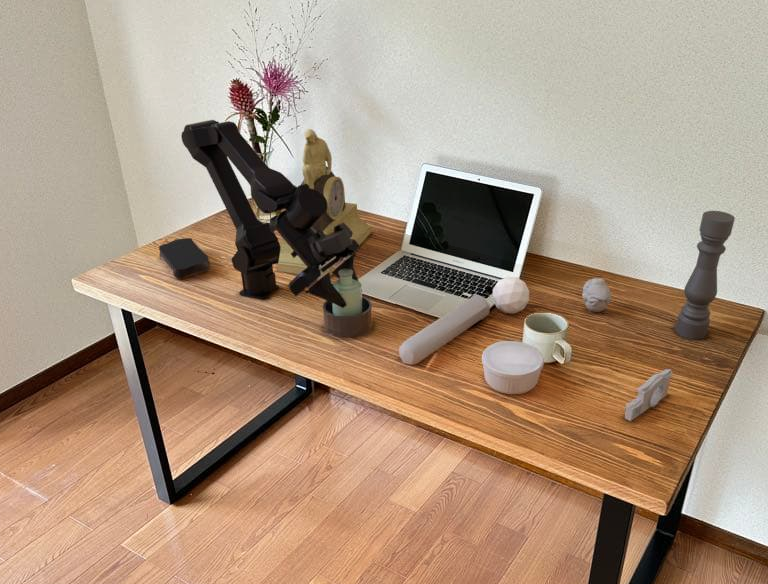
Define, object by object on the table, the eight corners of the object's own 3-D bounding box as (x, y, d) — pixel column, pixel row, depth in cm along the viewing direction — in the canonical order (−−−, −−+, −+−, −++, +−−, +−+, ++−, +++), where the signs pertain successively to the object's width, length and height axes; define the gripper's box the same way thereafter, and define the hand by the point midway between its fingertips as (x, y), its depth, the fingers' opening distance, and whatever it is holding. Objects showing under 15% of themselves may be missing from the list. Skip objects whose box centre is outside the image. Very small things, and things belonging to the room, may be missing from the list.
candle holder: (706, 327, 151) (736, 212, 138) (706, 341, 146) (736, 224, 133) (675, 322, 153) (701, 208, 139) (674, 336, 148) (701, 219, 134)
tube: (418, 355, 133) (493, 304, 149) (396, 338, 134) (473, 289, 151) (411, 375, 136) (485, 322, 153) (390, 358, 138) (466, 308, 155)
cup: (315, 333, 146) (314, 312, 144) (337, 311, 154) (336, 290, 151) (360, 343, 144) (359, 321, 141) (379, 320, 151) (379, 299, 149)
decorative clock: (328, 278, 167) (320, 148, 151) (277, 271, 170) (264, 142, 154) (370, 233, 190) (367, 115, 174) (325, 227, 193) (317, 111, 177)
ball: (517, 320, 158) (543, 297, 154) (497, 321, 152) (523, 297, 147) (499, 293, 160) (524, 269, 156) (478, 292, 154) (503, 268, 150)
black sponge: (214, 274, 168) (211, 260, 166) (177, 282, 164) (174, 268, 162) (192, 249, 180) (190, 235, 178) (157, 257, 176) (154, 242, 174)
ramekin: (498, 404, 127) (500, 379, 124) (469, 371, 136) (471, 347, 133) (553, 390, 131) (556, 366, 128) (522, 359, 139) (524, 335, 137)
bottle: (328, 329, 147) (324, 275, 141) (341, 315, 152) (338, 263, 145) (355, 334, 145) (353, 280, 139) (367, 321, 150) (366, 268, 144)
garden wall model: (630, 423, 123) (636, 394, 120) (621, 418, 124) (627, 390, 121) (668, 395, 130) (675, 368, 127) (660, 391, 131) (666, 363, 128)
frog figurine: (600, 301, 160) (605, 272, 156) (614, 316, 154) (619, 286, 151) (574, 303, 159) (578, 274, 155) (588, 319, 153) (592, 289, 149)
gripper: (297, 232, 131) (353, 300, 133) (349, 199, 145) (399, 261, 147) (265, 264, 138) (319, 327, 140) (318, 229, 152) (366, 288, 154)
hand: (352, 299), depth 145 cm, fingers closed on bottle, 6 cm apart
